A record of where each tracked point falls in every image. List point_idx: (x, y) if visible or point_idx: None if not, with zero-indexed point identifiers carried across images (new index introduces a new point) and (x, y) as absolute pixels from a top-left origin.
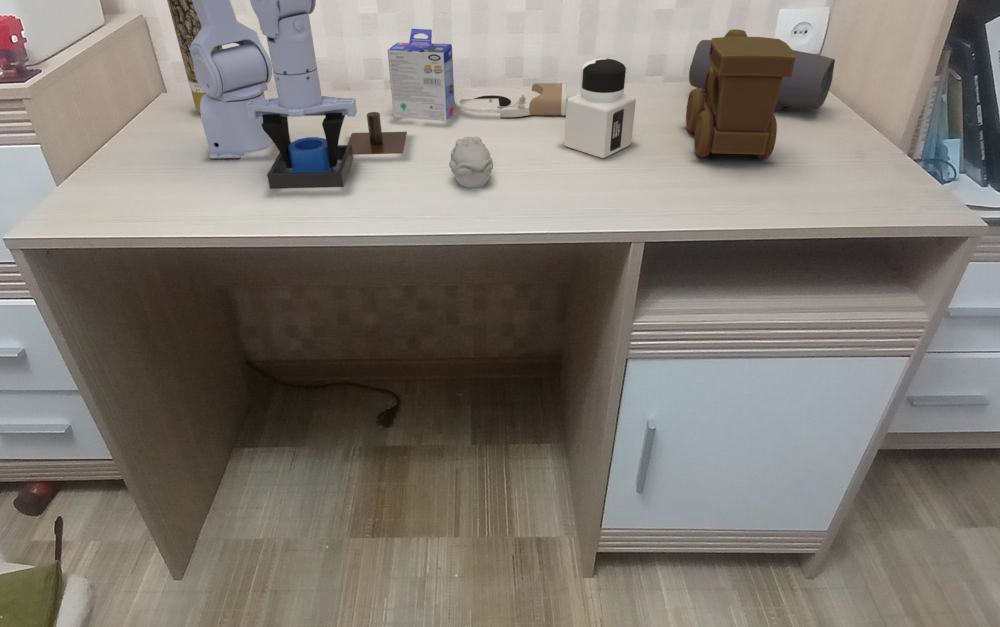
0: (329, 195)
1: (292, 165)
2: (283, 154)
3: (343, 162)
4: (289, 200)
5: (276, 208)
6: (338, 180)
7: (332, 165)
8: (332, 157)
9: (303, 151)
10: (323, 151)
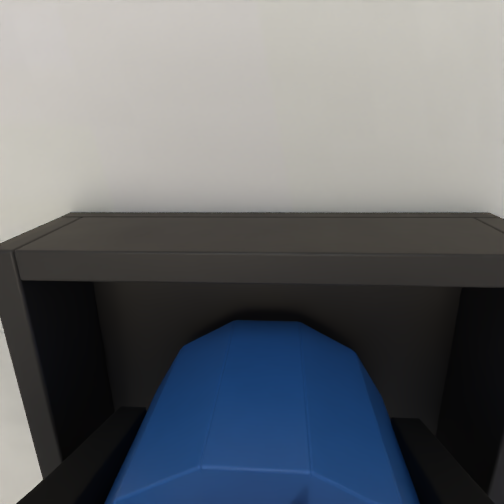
0: (145, 190)
1: (386, 423)
2: (475, 502)
3: (35, 414)
4: (369, 133)
5: (443, 10)
6: (47, 234)
7: (127, 412)
8: (85, 450)
9: (275, 485)
10: (113, 493)
